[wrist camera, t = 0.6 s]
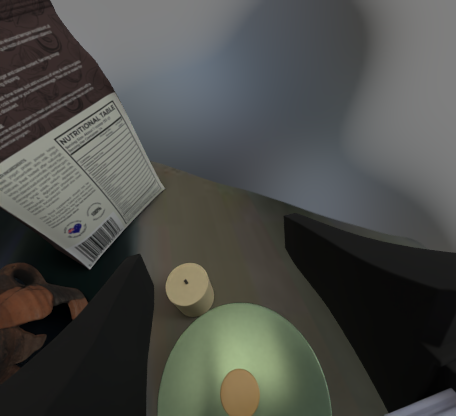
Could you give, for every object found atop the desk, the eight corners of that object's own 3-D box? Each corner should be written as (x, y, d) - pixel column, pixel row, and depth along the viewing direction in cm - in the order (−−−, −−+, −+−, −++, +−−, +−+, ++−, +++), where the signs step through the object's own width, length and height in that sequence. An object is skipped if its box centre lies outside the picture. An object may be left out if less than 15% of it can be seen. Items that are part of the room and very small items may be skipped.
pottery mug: (106, 333, 25) (18, 371, 17) (52, 376, 26) (-52, 429, 19) (72, 245, 29) (-13, 244, 21) (26, 287, 30) (-69, 300, 23)
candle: (217, 310, 25) (211, 296, 21) (179, 322, 24) (164, 309, 20) (210, 274, 28) (202, 255, 23) (175, 284, 27) (161, 266, 23)
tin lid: (366, 484, 14) (404, 517, 10) (169, 563, 12) (138, 630, 9) (285, 289, 21) (291, 272, 18) (157, 327, 20) (138, 316, 17)
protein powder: (129, 175, 41) (-13, -68, 19) (167, 189, 38) (51, -82, 16) (51, 249, 32) (-386, -43, 10) (92, 274, 29) (-402, -64, 7)
